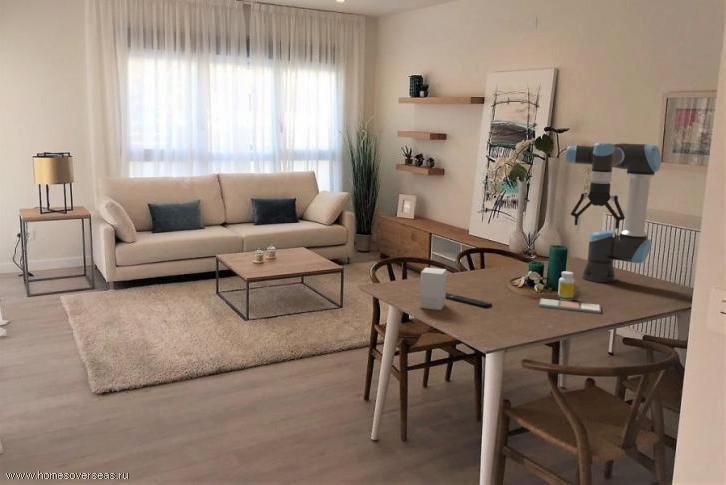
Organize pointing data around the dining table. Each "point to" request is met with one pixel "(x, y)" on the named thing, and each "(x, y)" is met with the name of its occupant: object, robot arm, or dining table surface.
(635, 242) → the robot arm
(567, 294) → the pill bottle
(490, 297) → the dining table surface
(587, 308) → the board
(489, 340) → the dining table surface
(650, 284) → the dining table surface
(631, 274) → the dining table surface
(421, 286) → the supplement box
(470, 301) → the remote control
